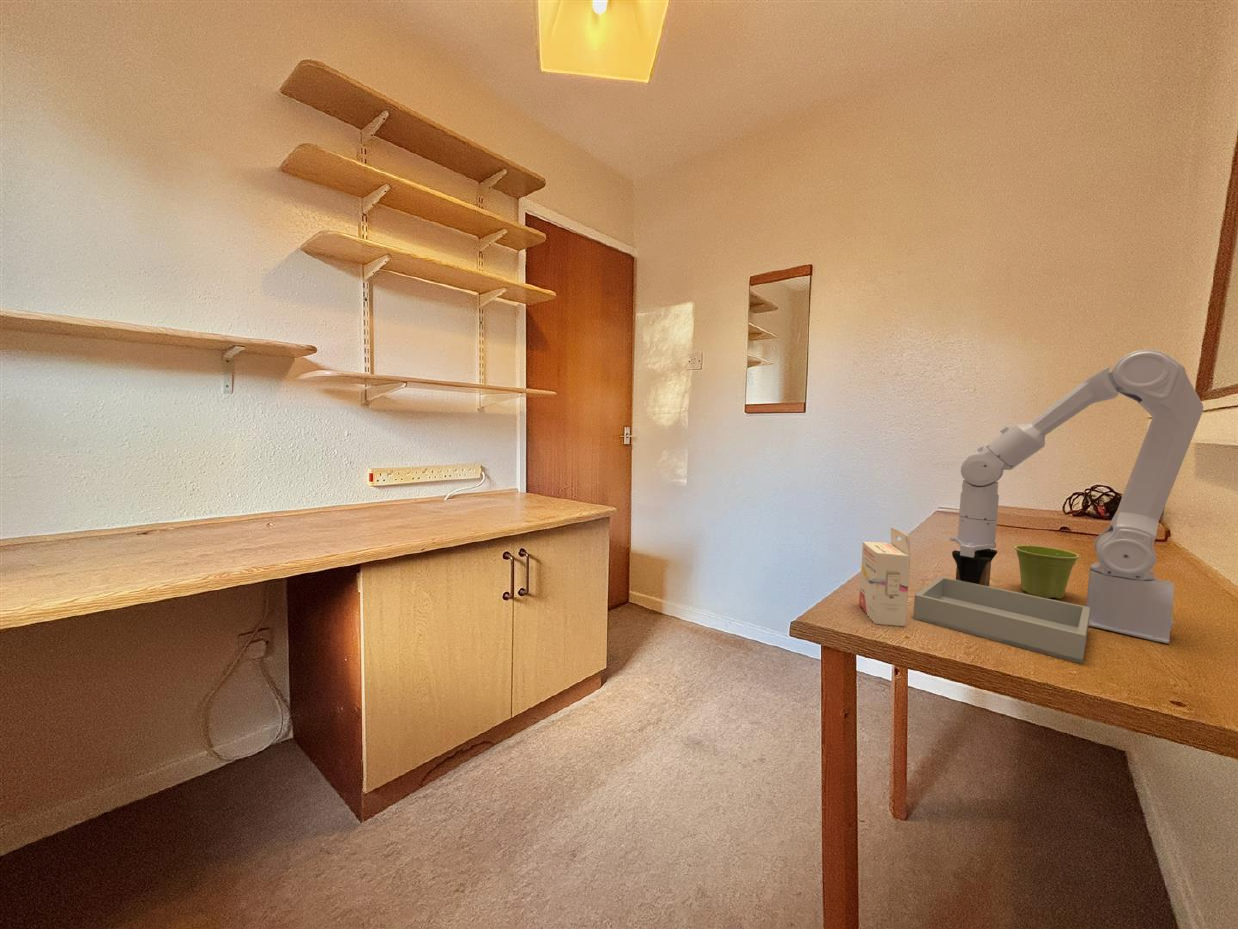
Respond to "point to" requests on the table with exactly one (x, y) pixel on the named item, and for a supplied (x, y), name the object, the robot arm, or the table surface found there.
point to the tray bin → (1006, 617)
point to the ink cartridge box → (885, 579)
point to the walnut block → (984, 577)
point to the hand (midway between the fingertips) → (972, 587)
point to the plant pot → (1045, 570)
